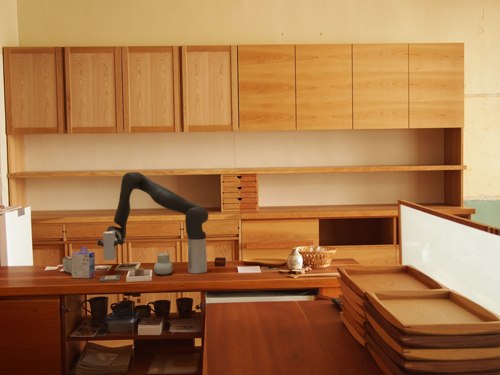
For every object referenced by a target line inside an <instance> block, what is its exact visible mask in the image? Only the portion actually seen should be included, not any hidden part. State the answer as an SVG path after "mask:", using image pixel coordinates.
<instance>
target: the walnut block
mask: <svg viewBox="0 0 500 375" xmlns="http://www.w3.org/2000/svg"><path fill="white" fill-rule="evenodd" d="M134 270H135V275H134V276H145V275H144V270H145V268H143V267H141V268H134Z"/></svg>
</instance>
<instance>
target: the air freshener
mask: <svg viewBox="0 0 500 375" xmlns="http://www.w3.org/2000/svg"><path fill="white" fill-rule="evenodd" d="M173 268H174V264H173V262H172V261H170V254H169V253H168V252H160V253H158V254H157V262H155V263H154V267H153V269H154V270H153V272H154V273H155V274H157V275H159V274H160V275H163V276H164V275H165V276H167V275H171V273H173V271H174V269H173Z"/></svg>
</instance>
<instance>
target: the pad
mask: <svg viewBox="0 0 500 375" xmlns="http://www.w3.org/2000/svg"><path fill="white" fill-rule="evenodd" d="M121 276H122V274H110V275H109V274H107V275H102V276H101V277H100V279H99V282H113V281H115V282H117V281H120V279H121V278H122V277H121Z"/></svg>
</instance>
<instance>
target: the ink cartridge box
mask: <svg viewBox="0 0 500 375" xmlns="http://www.w3.org/2000/svg"><path fill="white" fill-rule="evenodd" d="M88 249H89V248H88V247H82V246H81V248H80V251H77V252H76V251H75V252H72V253H71V257H72V274H71V277H72V278H73V279H74V278H75V279H91V278H94V277H96V264H95V259H96V258H95V254H96V253H95V252H94V251H88Z"/></svg>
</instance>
